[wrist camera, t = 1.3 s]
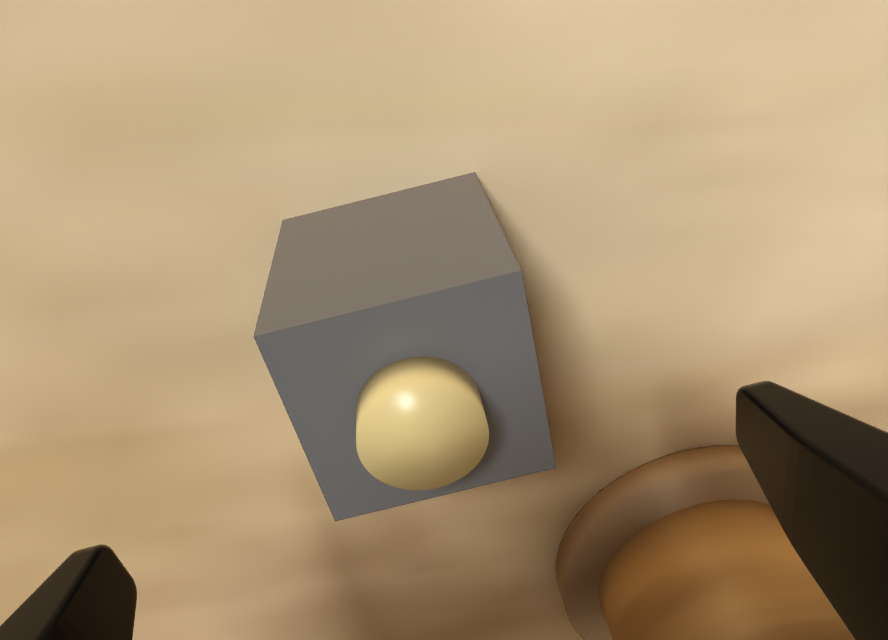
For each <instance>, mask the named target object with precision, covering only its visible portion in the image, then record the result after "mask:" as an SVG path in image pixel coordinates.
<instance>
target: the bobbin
mask: <svg viewBox="0 0 888 640" xmlns="http://www.w3.org/2000/svg"><path fill="white" fill-rule="evenodd" d="M556 577H557V582H558V585H559V588H560V591H561V595H562V598H563V601H564V604H565V608H566V611H567V614H568V617H569V620H570V622H571V623H572V625H573V627H574V629H575V630H576V631H577V632H578V633H579V634H580V635H581V637H583V638H584V639H585V640H855V639H854V637H853V636H852V634H851V633H850V631H849V630H848V628H847V627H846V625H845V624H844V622H843V621H842V619H841V618H840V616H839V615H838V613H837V612H836V611H835V609H834V608H833V606H832V605H831V603H830V602H829V600H828V599H827V597H826V596H825V594H824V593H823V591H822V590H821V588H820V587H819V585H818V584H817V582H816V581H815V579H814V578H813V577H812V575H811V574H810V572H809V571H808V569H807V568H806V566H805V565H804V563H803V562H802V560H801V559H800V557H799V556H798V554H797V552H796V551H795V549H794V548H793V546H792V545H791V543H790V541H789V539H788V538H787V536H786V534H785V532H784V531H783V529H782V527H781V525H780V523H779V521H778V519H777V517H776V515H775V514H774V512H773V510H772V508H771V506H770V504H769V502H768V500H767V498H766V496H765V495H764V493H763V491H762V489H761V487H760V485H759V483H758V481H757V479H756V477H755V476H754V474H753V472H752V470H751V468H750V466H749V464H748V462H747V460H746V458H745V457H744V455H743V453H742V451H741V449H740V447H739V446H711V447H701V448H696V449H691V450H686V451H681V452H678V453H674V454H671V455H667V456H664V457H661V458H659V459H656V460H654V461H651V462H649V463H646V464H644V465H642V466H640V467H638V468H636V469H634V470H632V471H630V472H628V473H627V474H625V475H623V476H622V477H620V478H619V479H617V480H615V481H614V482H612V483H611V484H609V485H608V486H607V487H606V488H604V489H603V490H602V491H600V492H599V493H598V494H597V495H596V496H595V497H594V498H592V499H591V500H590V501H589V502H588V503H587V504H586V505H585V506H584V507H583V509H582V510H581V511H580V512H579V513H578V514H577V516H576V517H575V518H574V520H573V521H572V523H571V524H570V526H569V527H568V529H567V530H566V532H565V535H564V537H563V539H562V541H561V543H560V546H559V550H558V554H557V559H556Z"/></svg>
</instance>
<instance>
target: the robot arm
mask: <svg viewBox="0 0 888 640" xmlns="http://www.w3.org/2000/svg"><path fill="white" fill-rule="evenodd" d="M736 437H737V441H738V444H739V447H740V449H741V451H742V453H743V455H744V457H745V458H746V460H747V462H748V464H749V466H750V468H751V470H752V472H753V474H754V476H755V477H756V479H757V481H758V483H759V485H760V487H761V489H762V491H763V493H764V495H765V496H766V498H767V500H768V502H769V504H770V506H771V508H772V510H773V512H774V514H775V515H776V517H777V519H778V521H779V523H780V525H781V527H782V529H783V531H784V532H785V534H786V536H787V538H788V539H789V541H790V543H791V545H792V546H793V548H794V549H795V551H796V552H797V554H798V556H799V557H800V559H801V560H802V562H803V563H804V565H805V566H806V568H807V569H808V571H809V572H810V574H811V575H812V577H813V578H814V579H815V581H816V582H817V584H818V585H819V587H820V588H821V590H822V591H823V593H824V594H825V596H826V597H827V599H828V600H829V602H830V603H831V605H832V606H833V608H834V609H835V611H836V612H837V613H838V615H839V616H840V618H841V619H842V621H843V622H844V624H845V625H846V627H847V628H848V630H849V631H850V633H851V634H852V636H853V637H854V639H855V640H888V433H887V432H885V431H883V430H880V429H878V428H876V427H874V426H871V425H869V424H867V423H864V422H862V421H860V420H858V419H855V418H853V417H851V416H849V415H846V414H844V413H842V412H839V411H837V410H835V409H833V408H830V407H828V406H826V405H823V404H821V403H819V402H817V401H814V400H812V399H810V398H807V397H805V396H803V395H801V394H798V393H796V392H794V391H791V390H789V389H787V388H785V387H782V386H780V385H778V384H776V383H773V382H770V381H762V382H758V383H754V384H750V385H746V386H743V387H741V388H739V389H738V391H737V395H736ZM136 601H137V590H136V585H135V582H134V580H133V578H132V577H131V575H130V574H129V573H128V571H127V570H126V568H125V567H124V566H123V564H122V563H121V561H120V560H119V559H118V557H117V556H116V554H115V553H114V552H113V550H112V549H111V548H110V547H108V546H106V545H97V546H93V547H89V548H85V549H81V550H78V551H75V552H74V553H72V554H71V555H70V556H69V557H68V558H67V559H66V560H65V561H64V562H63V563H62V564H61V565H60V566H59V567H58V568H57V569H56V570H55V571H54V572H53V573H52V574H51V575H50V576H49V577H48V578H47V579H46V580H45V581H44V582H43V583H42V584H41V586H40V587H39V588H38V589H37V590H36V591H35V592H34V593H33V594H32V595H31V596H30V597H29V598H28V599H27V600H26V601H25V602H24V603H23V604H22V605H21V606H20V607H19V608H18V609H17V610H16V611H15V612H14V613H13V614H12V615H11V616H10V617H9V618H8V619H7V620H6V621H5V622H4V623H3V624H2V625H1V626H0V640H132V637H133V628H134V619H135V610H136Z"/></svg>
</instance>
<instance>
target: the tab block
mask: <svg viewBox="0 0 888 640" xmlns="http://www.w3.org/2000/svg"><path fill="white" fill-rule="evenodd" d="M254 338H255V341H256V343H257V345H258V347H259V350H260V352H261V354H262V356H263V359H264V361H265V363H266V366H267V368H268V370H269V372H270V375H271V377H272V379H273V381H274V384H275V386H276V388H277V390H278V393H279V395H280V397H281V400H282V402H283V404H284V406H285V409H286V411H287V413H288V415H289V418H290V420H291V422H292V424H293V427H294V429H295V431H296V434H297V436H298V438H299V440H300V443H301V445H302V447H303V449H304V452H305V454H306V456H307V458H308V461H309V463H310V465H311V468H312V470H313V472H314V474H315V477H316V479H317V481H318V483H319V486H320V488H321V490H322V493H323V495H324V497H325V499H326V502H327V504H328V506H329V508H330V511H331V513H332V515H333V517H334V520H335V521H339V520H343V519H347V518H351V517H355V516H359V515H364V514H368V513H372V512H376V511H380V510H384V509H388V508H392V507H397V506H401V505H405V504H409V503H413V502H417V501H421V500H426V499H430V498H434V497H438V496H442V495H446V494H450V493H454V492H459V491H463V490H467V489H471V488H475V487H479V486H483V485H488V484H492V483H496V482H500V481H504V480H508V479H512V478H516V477H521V476H525V475H529V474H533V473H537V472H541V471H545V470H550V469H554V468H556V465H555V459H554V453H553V448H552V442H551V436H550V431H549V425H548V419H547V413H546V408H545V402H544V396H543V390H542V385H541V379H540V373H539V367H538V362H537V356H536V350H535V344H534V339H533V333H532V327H531V322H530V316H529V310H528V304H527V299H526V293H525V287H524V281H523V276H522V270H521V268H520V266H519V264H518V262H517V260H516V258H515V255H514V253H513V251H512V249H511V247H510V245H509V243H508V241H507V239H506V237H505V234H504V232H503V230H502V228H501V226H500V224H499V222H498V220H497V218H496V216H495V214H494V211H493V209H492V207H491V205H490V203H489V201H488V199H487V197H486V195H485V193H484V190H483V188H482V186H481V184H480V182H479V180H478V178H477V176H476V174H475V172H474V173H470V174H466V175H462V176H458V177H454V178H450V179H446V180H442V181H438V182H434V183H430V184H426V185H422V186H418V187H414V188H410V189H406V190H402V191H398V192H394V193H390V194H386V195H382V196H378V197H374V198H370V199H366V200H362V201H358V202H354V203H350V204H346V205H342V206H338V207H334V208H330V209H326V210H322V211H318V212H314V213H310V214H306V215H302V216H298V217H294V218H290V219H286V220H283V221H282V225H281V229H280V233H279V237H278V241H277V245H276V249H275V253H274V257H273V261H272V265H271V269H270V273H269V277H268V281H267V285H266V289H265V293H264V297H263V301H262V305H261V309H260V313H259V317H258V321H257V325H256V329H255V333H254Z"/></svg>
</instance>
